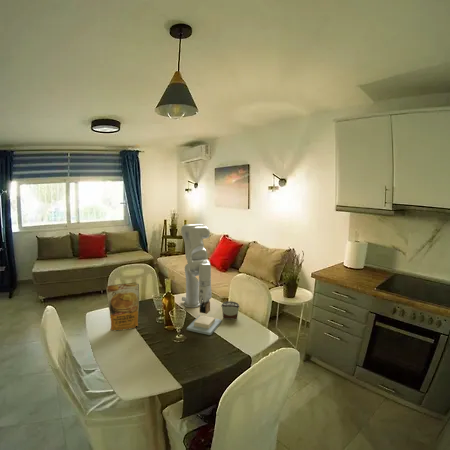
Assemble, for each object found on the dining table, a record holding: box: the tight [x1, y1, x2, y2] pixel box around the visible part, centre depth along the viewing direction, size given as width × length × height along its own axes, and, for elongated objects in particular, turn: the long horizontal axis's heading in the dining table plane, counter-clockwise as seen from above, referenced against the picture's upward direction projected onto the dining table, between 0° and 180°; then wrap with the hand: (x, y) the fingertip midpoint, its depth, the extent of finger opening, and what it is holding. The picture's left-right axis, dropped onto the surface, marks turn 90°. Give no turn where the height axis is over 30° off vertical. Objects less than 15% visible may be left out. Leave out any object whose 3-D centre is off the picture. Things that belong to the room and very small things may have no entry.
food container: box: [220, 300, 240, 320], centre depth 195 cm, size 12×6×10 cm, turn 84°
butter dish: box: [186, 314, 223, 336], centre depth 182 cm, size 16×18×4 cm
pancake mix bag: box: [105, 282, 140, 331], centre depth 177 cm, size 7×19×28 cm, turn 110°
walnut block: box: [199, 300, 211, 315], centre depth 181 cm, size 5×5×6 cm
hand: (204, 310), depth 181 cm, fingers closed on walnut block, 5 cm apart
